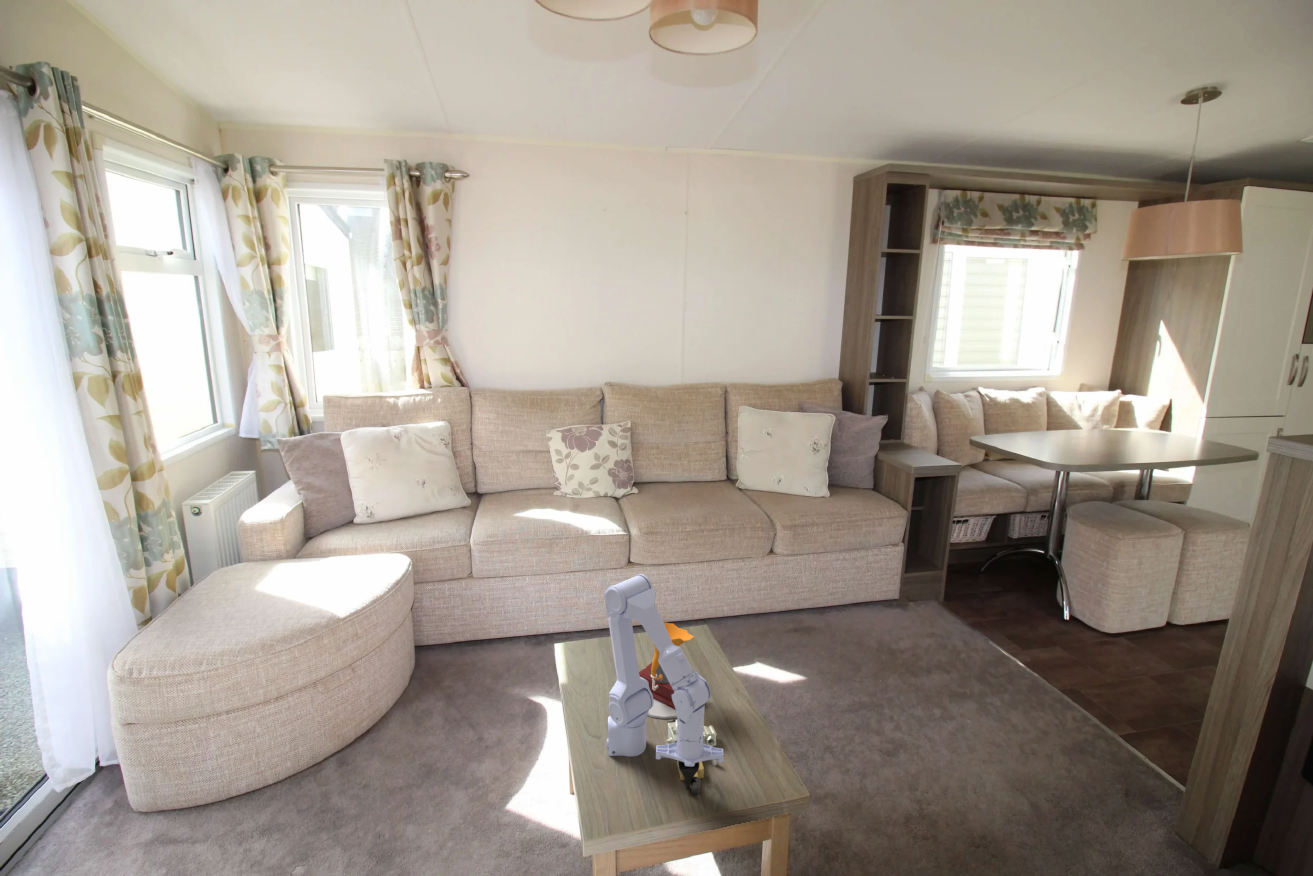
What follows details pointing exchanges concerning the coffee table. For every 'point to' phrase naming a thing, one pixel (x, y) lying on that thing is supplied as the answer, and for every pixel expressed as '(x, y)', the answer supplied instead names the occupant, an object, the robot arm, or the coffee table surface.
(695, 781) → the square nut with handle
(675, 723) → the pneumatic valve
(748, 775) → the coffee table surface
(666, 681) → the gramophone
